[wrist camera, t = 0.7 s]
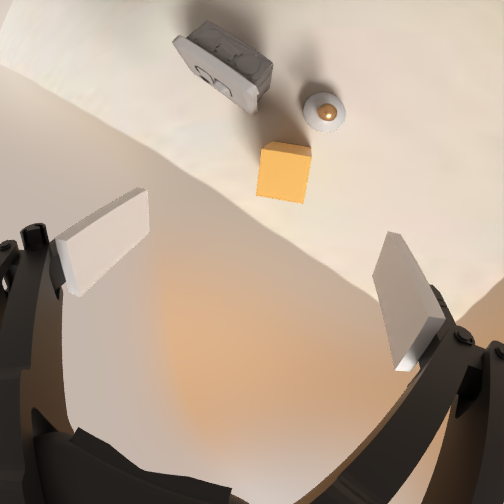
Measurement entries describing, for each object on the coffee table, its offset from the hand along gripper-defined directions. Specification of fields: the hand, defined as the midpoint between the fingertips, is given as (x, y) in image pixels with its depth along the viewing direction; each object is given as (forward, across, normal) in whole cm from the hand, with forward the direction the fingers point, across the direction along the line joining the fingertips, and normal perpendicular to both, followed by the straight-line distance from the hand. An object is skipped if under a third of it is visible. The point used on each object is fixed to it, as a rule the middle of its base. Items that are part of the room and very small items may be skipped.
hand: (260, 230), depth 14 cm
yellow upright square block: (+18, 0, 0) cm, 19 cm away
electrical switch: (+19, -7, +10) cm, 22 cm away
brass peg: (+17, +3, +7) cm, 18 cm away
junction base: (+18, +3, +7) cm, 20 cm away
